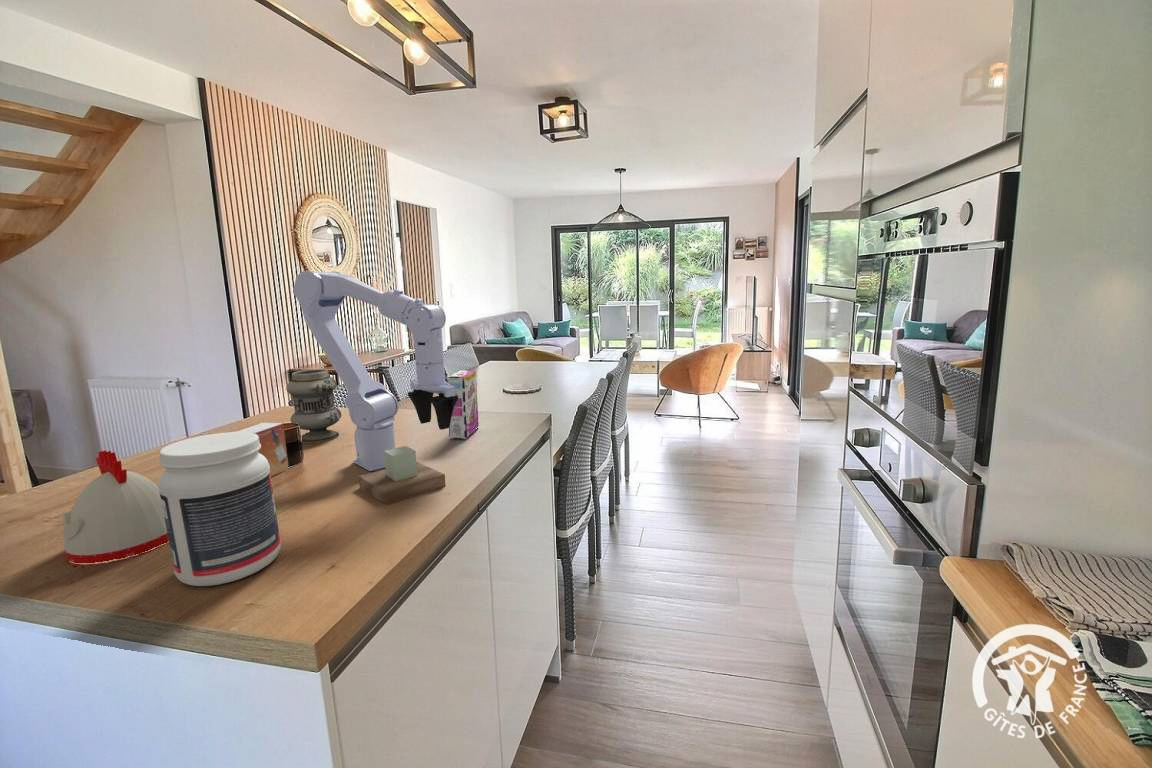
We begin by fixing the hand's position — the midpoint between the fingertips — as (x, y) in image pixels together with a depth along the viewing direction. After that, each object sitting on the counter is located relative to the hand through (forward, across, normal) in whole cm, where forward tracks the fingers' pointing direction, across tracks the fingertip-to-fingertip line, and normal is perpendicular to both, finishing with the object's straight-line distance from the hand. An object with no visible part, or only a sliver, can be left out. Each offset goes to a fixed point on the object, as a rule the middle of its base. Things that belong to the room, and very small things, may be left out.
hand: (434, 425), depth 112 cm
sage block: (+7, +4, -11) cm, 13 cm away
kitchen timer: (+10, -8, -51) cm, 53 cm away
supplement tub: (+10, +14, -42) cm, 45 cm away
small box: (+10, -25, -27) cm, 38 cm away
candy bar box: (+10, -18, +19) cm, 28 cm away
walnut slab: (+10, +4, -11) cm, 15 cm away
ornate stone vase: (+10, -46, -8) cm, 47 cm away
